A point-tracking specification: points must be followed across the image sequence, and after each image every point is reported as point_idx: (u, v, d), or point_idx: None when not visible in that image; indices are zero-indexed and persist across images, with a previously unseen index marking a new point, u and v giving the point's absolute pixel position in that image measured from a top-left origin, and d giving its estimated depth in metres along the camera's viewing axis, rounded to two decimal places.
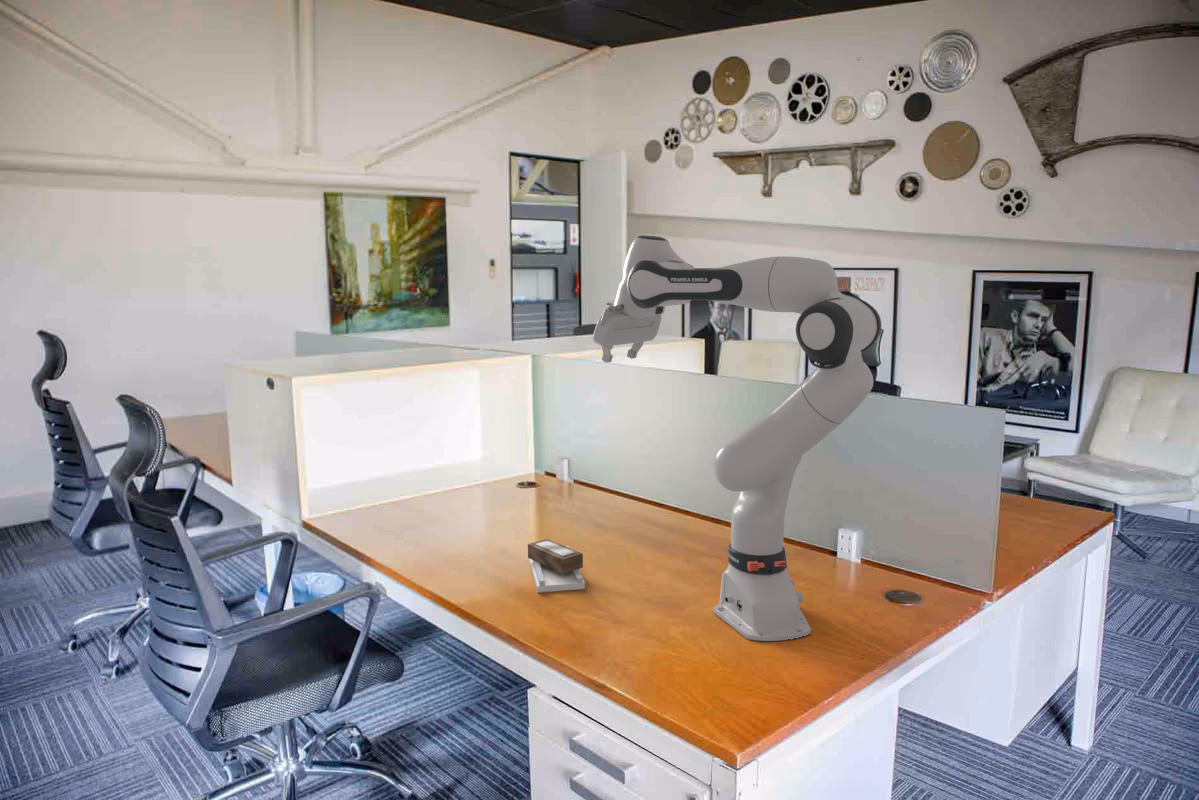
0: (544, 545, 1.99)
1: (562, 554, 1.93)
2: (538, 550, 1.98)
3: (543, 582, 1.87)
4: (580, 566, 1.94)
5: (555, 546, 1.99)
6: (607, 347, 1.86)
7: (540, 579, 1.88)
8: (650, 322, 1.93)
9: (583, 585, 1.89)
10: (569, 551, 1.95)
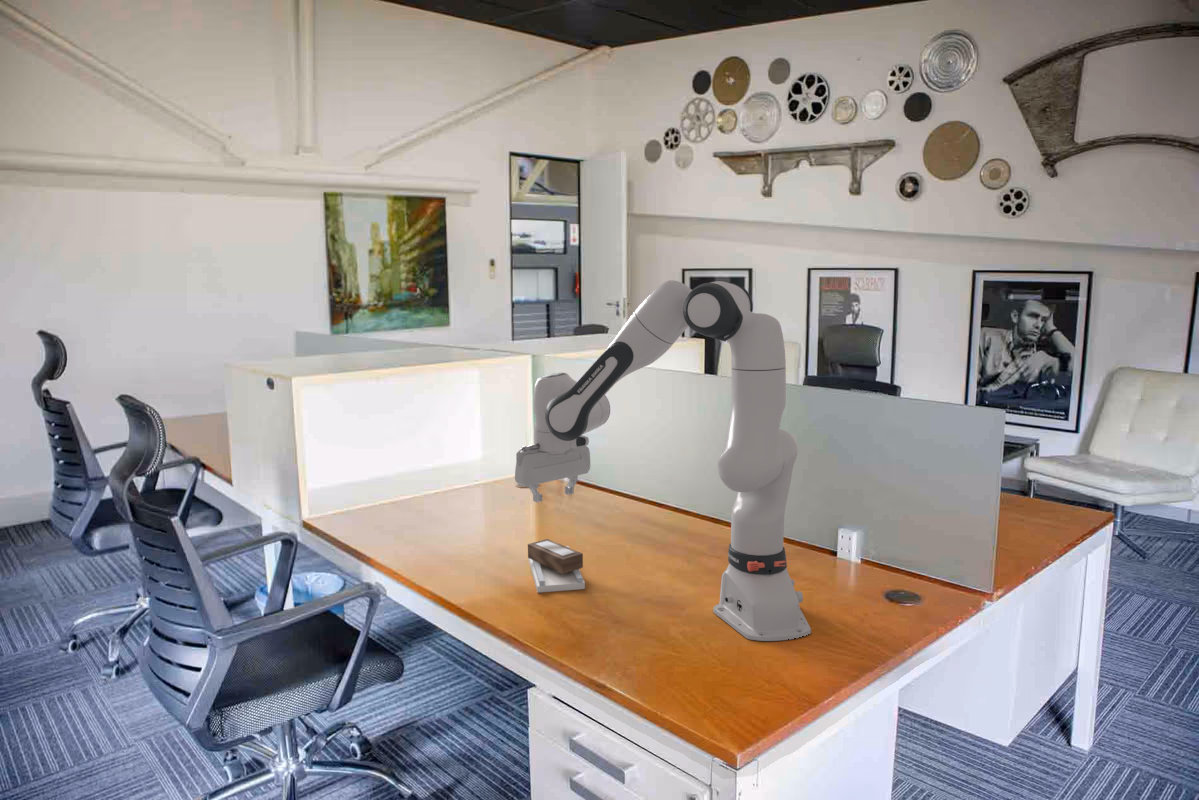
0: (544, 545, 1.99)
1: (562, 554, 1.93)
2: (538, 550, 1.98)
3: (543, 582, 1.87)
4: (580, 566, 1.94)
5: (555, 546, 1.99)
6: (532, 487, 1.90)
7: (540, 579, 1.88)
8: (578, 455, 1.97)
9: (583, 585, 1.89)
10: (569, 551, 1.95)
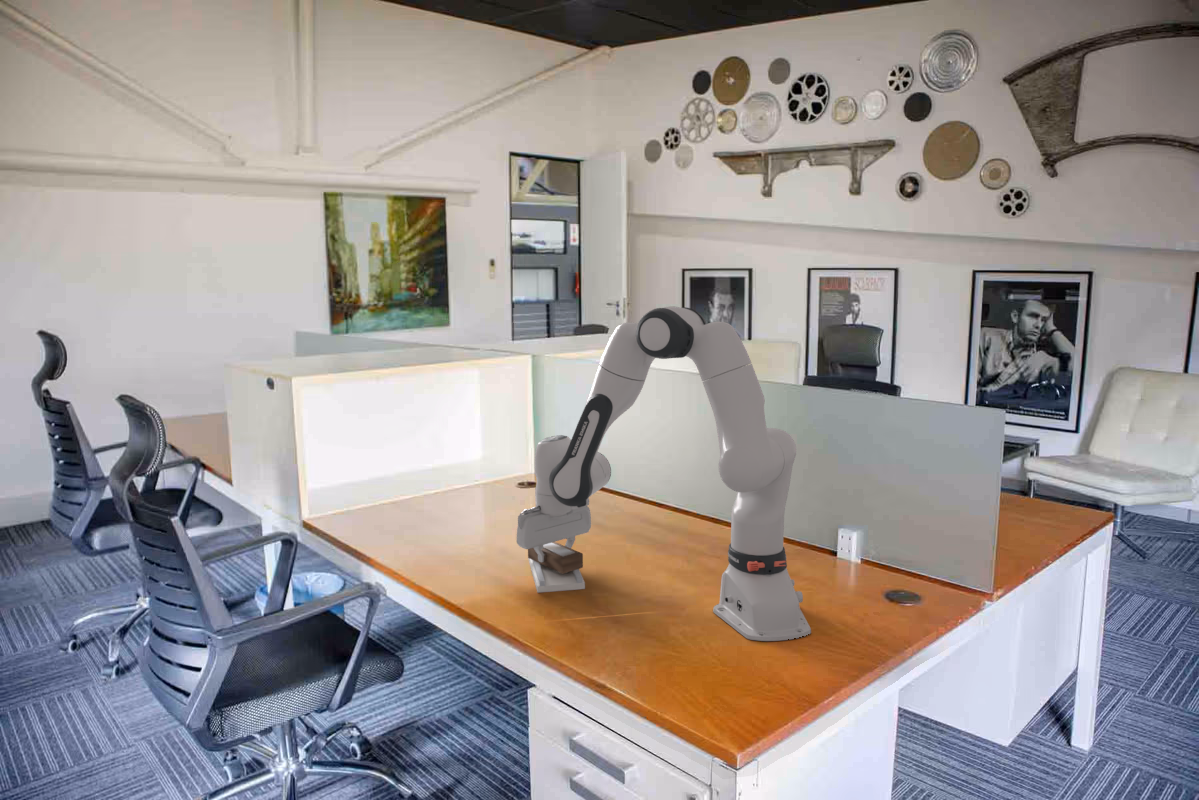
0: (544, 545, 1.99)
1: (562, 554, 1.93)
2: None
3: (543, 582, 1.87)
4: (580, 566, 1.94)
5: (555, 546, 1.99)
6: (537, 548, 1.93)
7: (540, 579, 1.88)
8: (578, 515, 1.99)
9: (583, 585, 1.89)
10: (569, 551, 1.95)
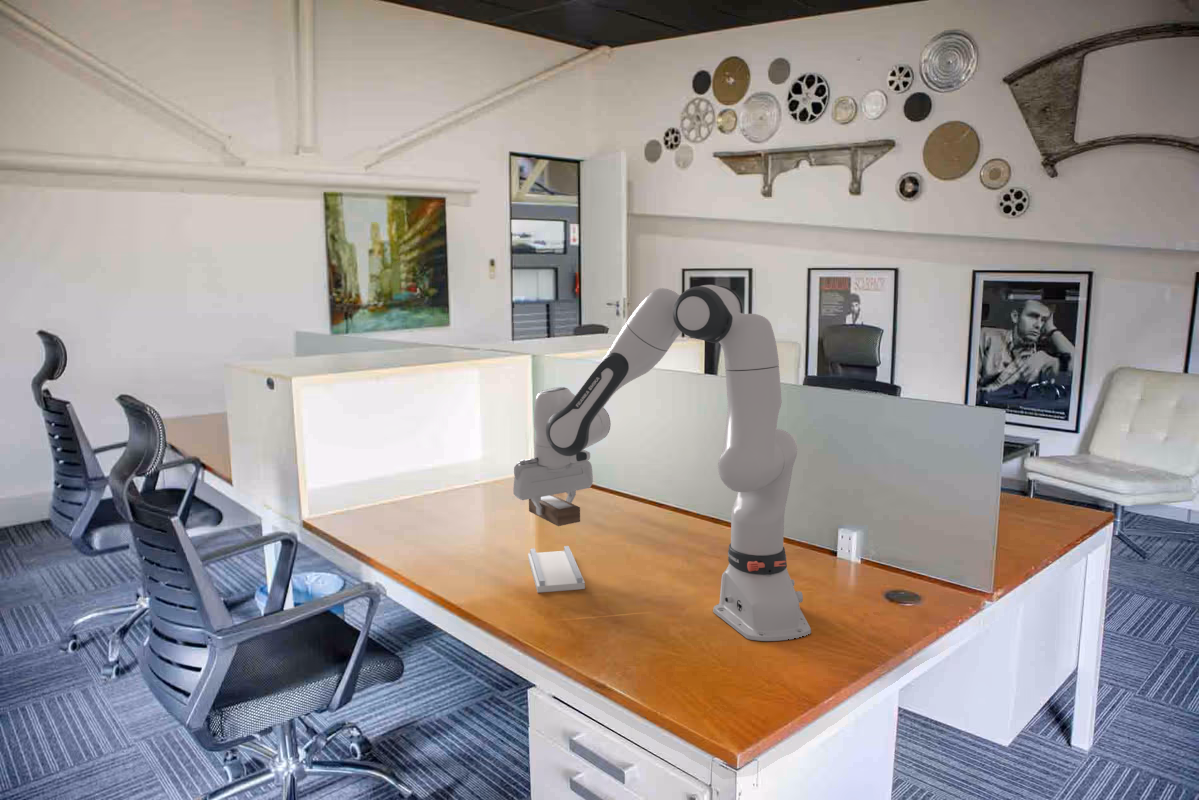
0: (544, 499, 1.98)
1: (559, 507, 1.91)
2: None
3: (543, 582, 1.87)
4: (577, 520, 1.92)
5: (555, 500, 1.97)
6: (534, 500, 1.92)
7: (540, 579, 1.88)
8: (579, 470, 1.97)
9: (583, 585, 1.89)
10: (567, 505, 1.93)
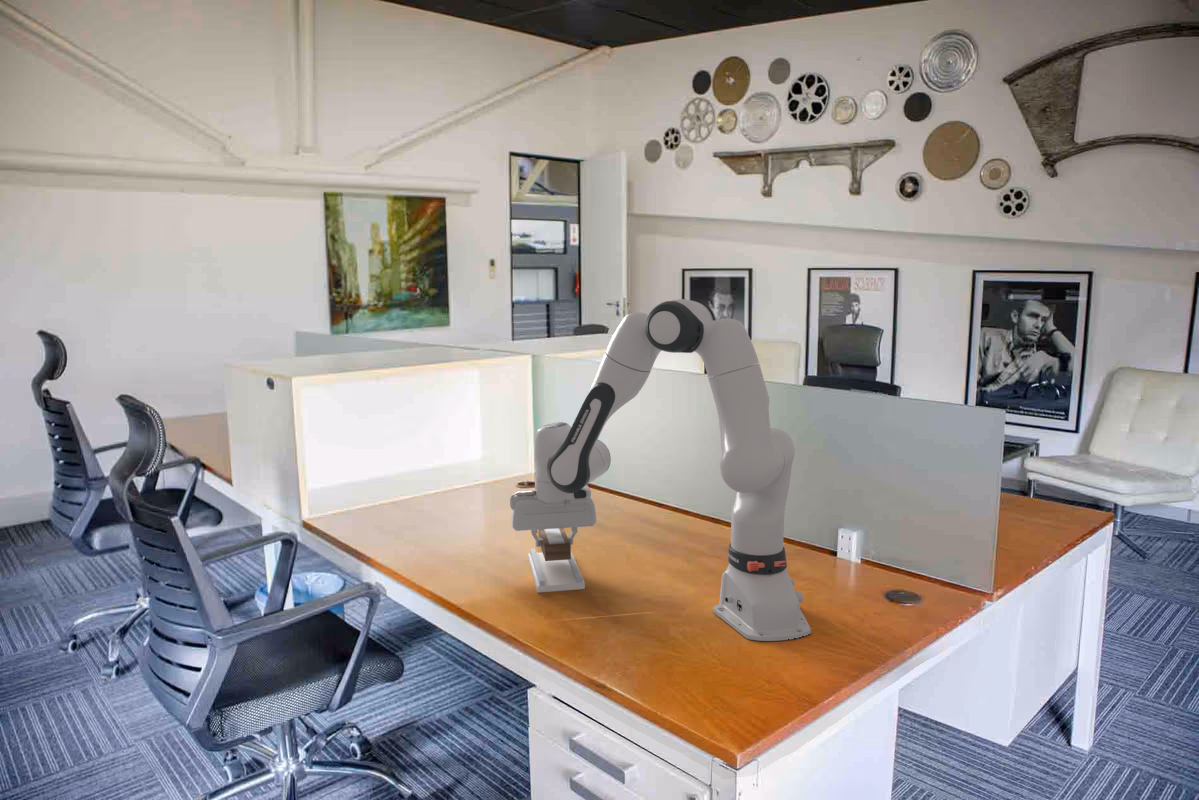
0: (549, 531, 2.00)
1: (551, 542, 1.92)
2: (540, 535, 1.99)
3: (543, 582, 1.87)
4: (567, 557, 1.91)
5: (557, 534, 1.98)
6: (531, 531, 1.95)
7: (540, 579, 1.88)
8: (581, 507, 1.96)
9: (583, 585, 1.89)
10: (560, 541, 1.93)
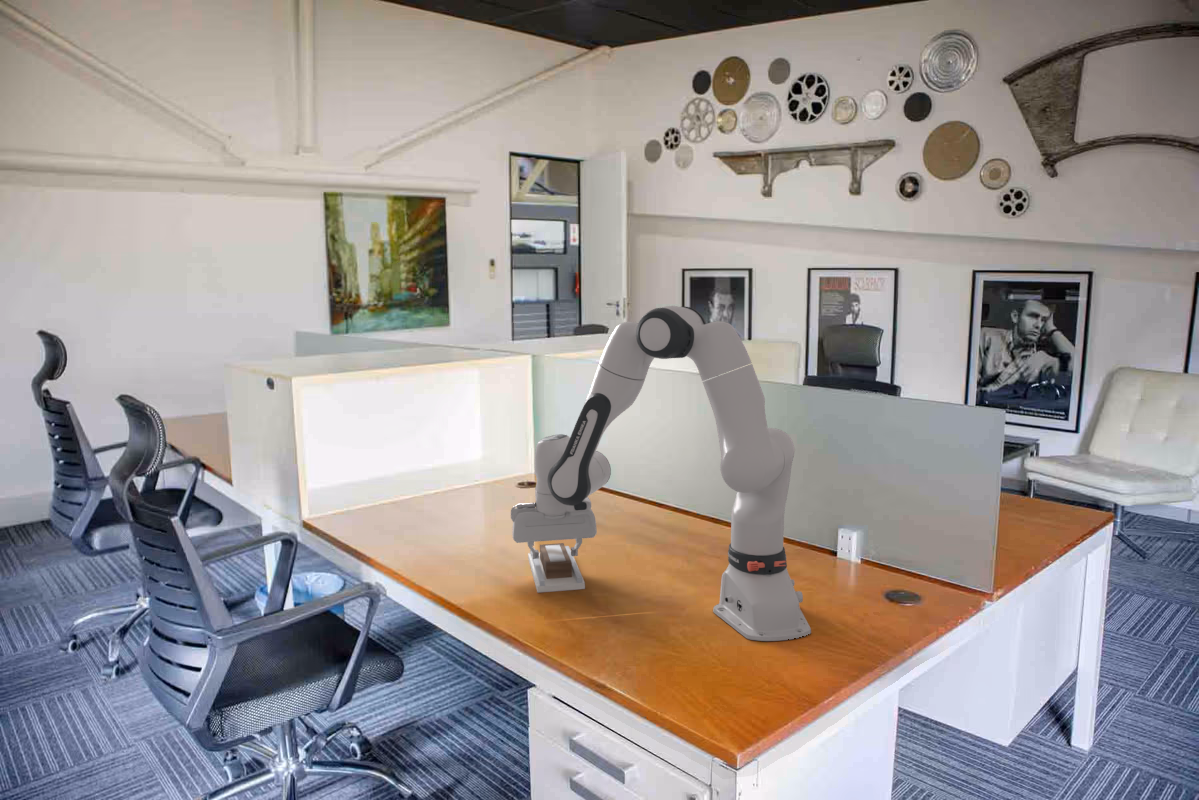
0: (550, 548, 2.01)
1: (552, 560, 1.93)
2: (541, 552, 2.00)
3: (543, 582, 1.87)
4: (568, 575, 1.92)
5: (558, 551, 1.99)
6: (527, 543, 1.96)
7: (540, 579, 1.88)
8: (581, 519, 1.96)
9: (583, 585, 1.89)
10: (562, 558, 1.94)
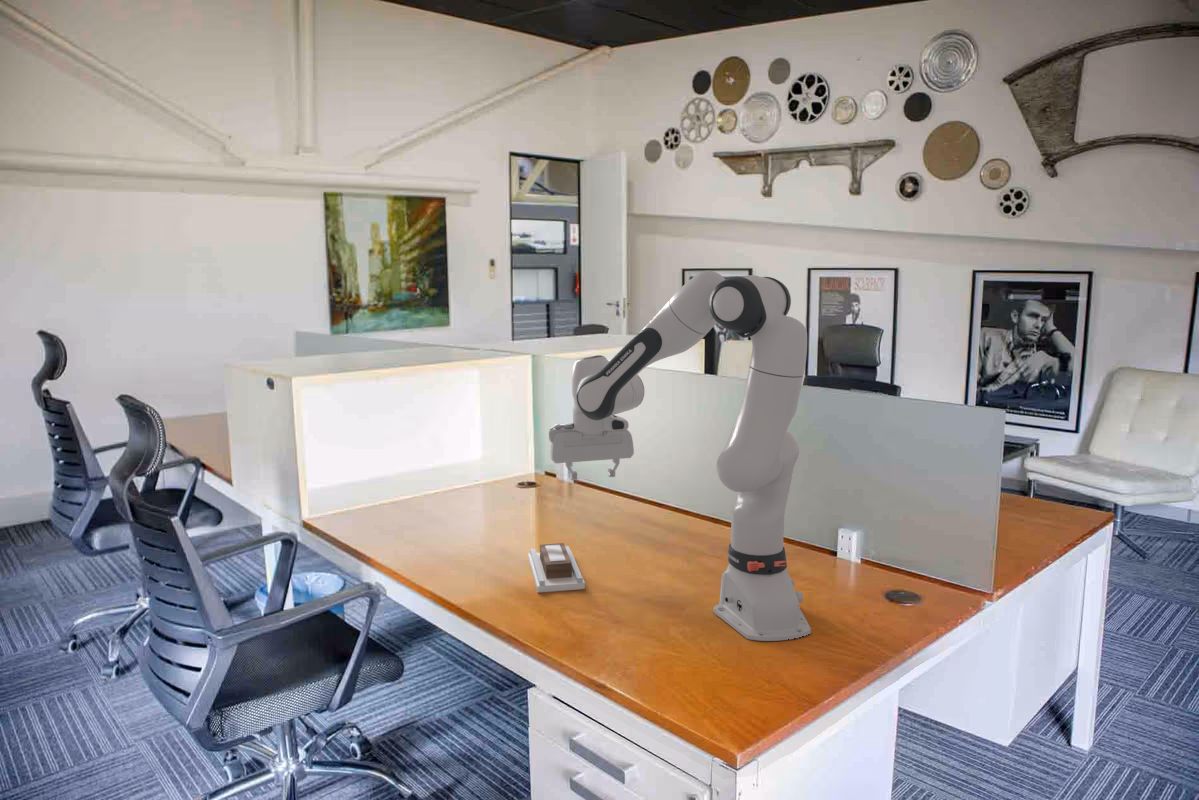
0: (550, 548, 2.01)
1: (552, 560, 1.93)
2: (541, 552, 2.00)
3: (543, 582, 1.87)
4: (568, 575, 1.92)
5: (558, 551, 1.99)
6: (566, 464, 1.98)
7: (540, 579, 1.88)
8: (618, 439, 1.98)
9: (583, 585, 1.89)
10: (562, 558, 1.94)
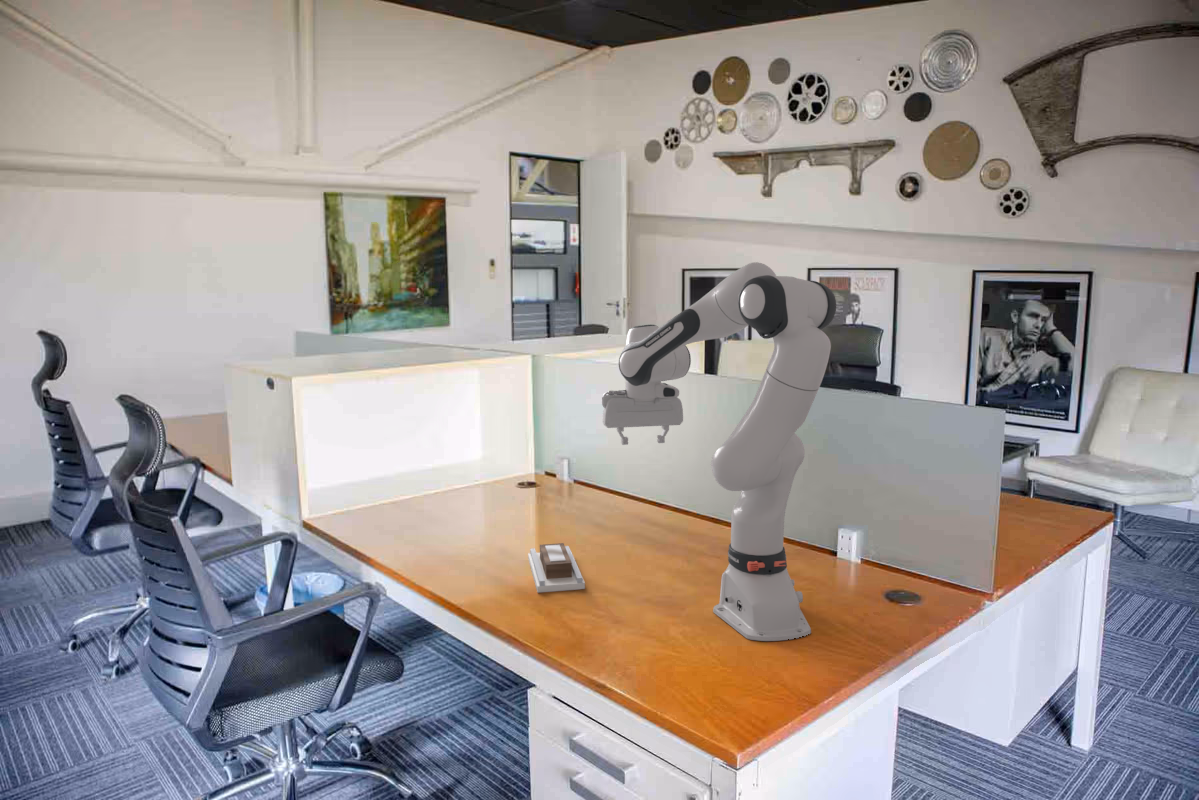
0: (550, 548, 2.01)
1: (552, 560, 1.93)
2: (541, 552, 2.00)
3: (543, 582, 1.87)
4: (568, 575, 1.92)
5: (558, 551, 1.99)
6: (618, 429, 2.05)
7: (540, 579, 1.88)
8: (669, 406, 2.05)
9: (583, 585, 1.89)
10: (562, 558, 1.94)
